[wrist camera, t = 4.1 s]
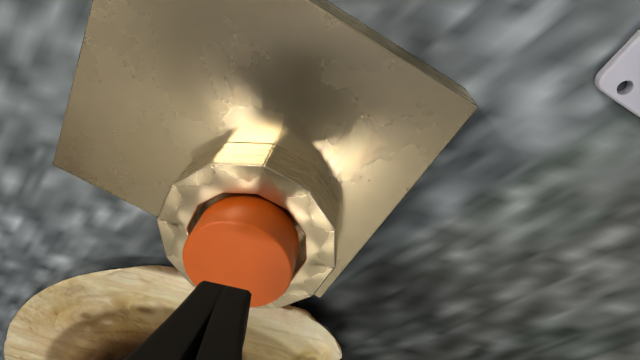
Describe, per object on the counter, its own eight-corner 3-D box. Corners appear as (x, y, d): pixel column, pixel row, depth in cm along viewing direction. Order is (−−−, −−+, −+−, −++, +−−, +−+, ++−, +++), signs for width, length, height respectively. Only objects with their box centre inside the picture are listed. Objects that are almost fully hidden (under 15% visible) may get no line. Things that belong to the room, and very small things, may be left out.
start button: (318, 226, 15) (312, 256, 14) (271, 290, 17) (262, 323, 16) (222, 176, 15) (205, 201, 13) (185, 248, 17) (166, 278, 15)
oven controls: (465, 88, 16) (492, 126, 12) (316, 278, 21) (305, 341, 18) (155, -110, 14) (83, -131, 10) (79, 158, 19) (16, 204, 16)
